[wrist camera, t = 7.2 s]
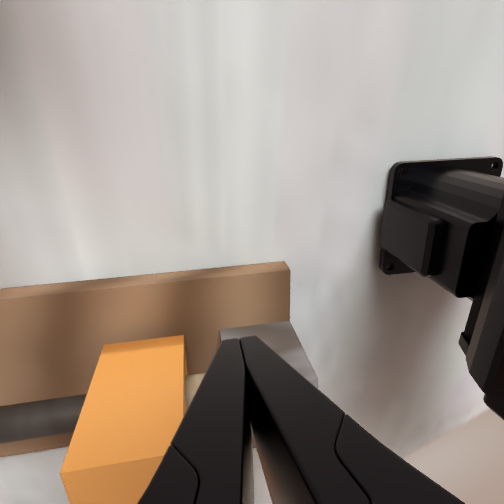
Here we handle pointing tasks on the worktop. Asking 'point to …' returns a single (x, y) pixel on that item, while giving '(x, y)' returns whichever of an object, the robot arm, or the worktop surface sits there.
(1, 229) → the worktop surface
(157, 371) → the sleeve
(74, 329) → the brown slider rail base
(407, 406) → the worktop surface
